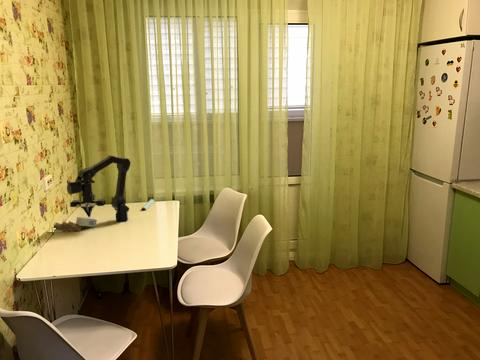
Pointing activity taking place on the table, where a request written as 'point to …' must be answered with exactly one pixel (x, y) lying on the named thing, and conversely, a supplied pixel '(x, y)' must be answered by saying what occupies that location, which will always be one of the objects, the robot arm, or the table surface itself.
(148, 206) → the white black-tipped bar
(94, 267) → the table surface
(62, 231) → the domino
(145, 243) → the table surface
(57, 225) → the domino
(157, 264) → the table surface
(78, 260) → the table surface
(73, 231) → the domino
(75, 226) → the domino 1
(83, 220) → the medicine box
